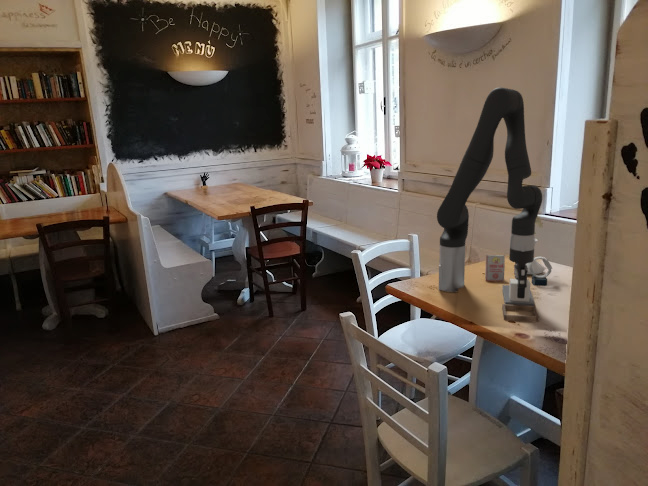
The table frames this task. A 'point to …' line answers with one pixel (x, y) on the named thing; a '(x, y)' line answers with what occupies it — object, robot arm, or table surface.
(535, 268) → the flower in vase
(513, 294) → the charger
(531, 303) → the power strip
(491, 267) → the tea box
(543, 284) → the watch
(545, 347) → the table surface
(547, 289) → the table surface
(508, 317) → the tray
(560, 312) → the table surface
